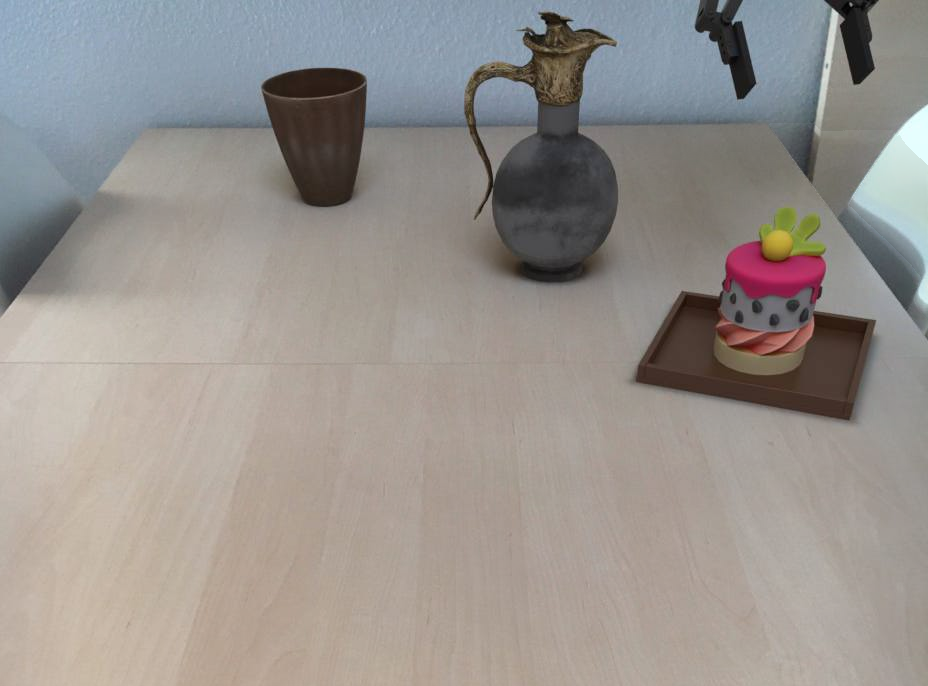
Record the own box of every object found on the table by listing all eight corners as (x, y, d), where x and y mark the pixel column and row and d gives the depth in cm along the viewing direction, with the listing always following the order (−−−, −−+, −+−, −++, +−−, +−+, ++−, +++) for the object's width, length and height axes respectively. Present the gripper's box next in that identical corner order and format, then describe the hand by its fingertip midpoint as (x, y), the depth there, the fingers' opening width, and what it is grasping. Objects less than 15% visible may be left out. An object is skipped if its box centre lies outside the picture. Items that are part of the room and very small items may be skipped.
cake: (803, 382, 110) (836, 244, 100) (704, 370, 113) (726, 234, 102) (808, 337, 118) (839, 204, 107) (715, 327, 120) (736, 196, 110)
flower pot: (301, 224, 148) (286, 104, 137) (261, 193, 157) (244, 78, 146) (392, 202, 153) (385, 85, 142) (348, 173, 163) (338, 61, 152)
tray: (871, 338, 119) (876, 319, 117) (849, 422, 106) (854, 402, 104) (679, 308, 126) (681, 290, 124) (635, 383, 113) (638, 364, 111)
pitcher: (610, 292, 129) (633, 21, 109) (460, 286, 132) (455, 20, 111) (613, 257, 137) (635, -3, 116) (472, 251, 139) (469, -3, 119)
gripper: (845, -97, 112) (889, 91, 111) (634, -79, 107) (680, 118, 107) (887, -153, 104) (934, 49, 104) (663, -136, 99) (712, 75, 99)
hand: (806, 84), depth 105 cm, fingers open, 13 cm apart
